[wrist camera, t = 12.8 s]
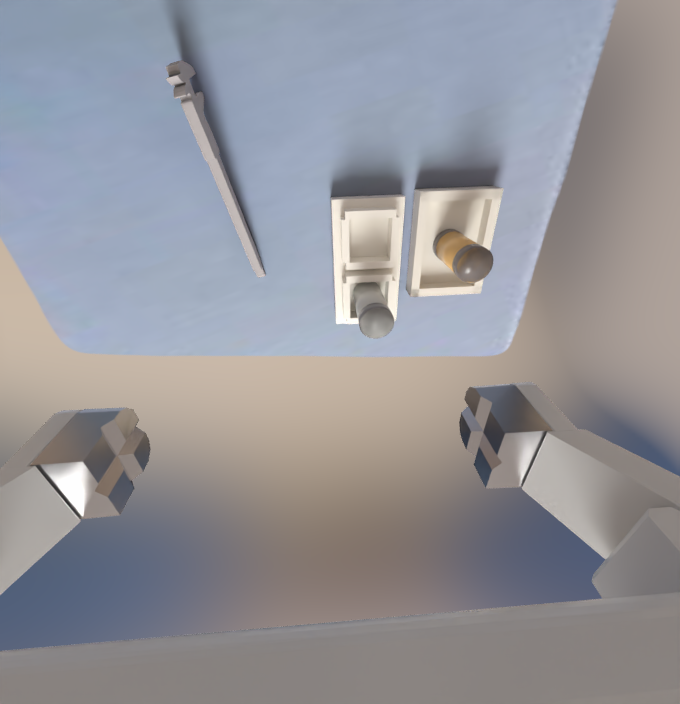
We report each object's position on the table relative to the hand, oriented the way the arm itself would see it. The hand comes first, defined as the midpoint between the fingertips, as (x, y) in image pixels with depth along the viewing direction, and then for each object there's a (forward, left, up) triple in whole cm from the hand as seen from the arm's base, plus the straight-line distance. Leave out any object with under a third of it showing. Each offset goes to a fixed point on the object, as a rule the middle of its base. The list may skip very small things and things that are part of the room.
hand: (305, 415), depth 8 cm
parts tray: (+5, +16, -34) cm, 38 cm away
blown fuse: (+5, +16, -33) cm, 37 cm away
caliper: (-2, -9, -35) cm, 36 cm away
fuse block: (+7, +6, -34) cm, 35 cm away
